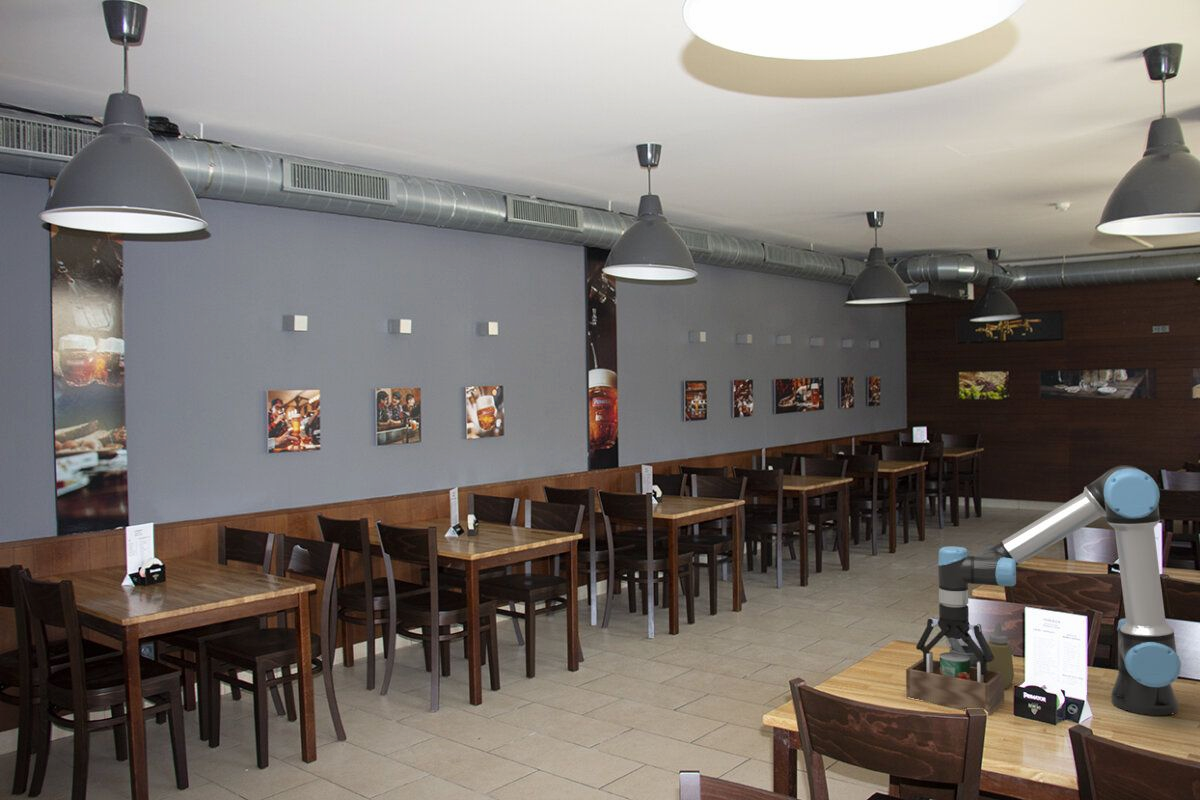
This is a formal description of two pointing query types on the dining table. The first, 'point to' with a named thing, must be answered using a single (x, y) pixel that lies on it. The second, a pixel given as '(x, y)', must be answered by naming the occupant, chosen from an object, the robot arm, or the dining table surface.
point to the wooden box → (955, 688)
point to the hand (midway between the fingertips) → (954, 681)
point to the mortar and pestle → (963, 651)
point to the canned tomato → (955, 665)
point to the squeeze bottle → (1001, 655)
